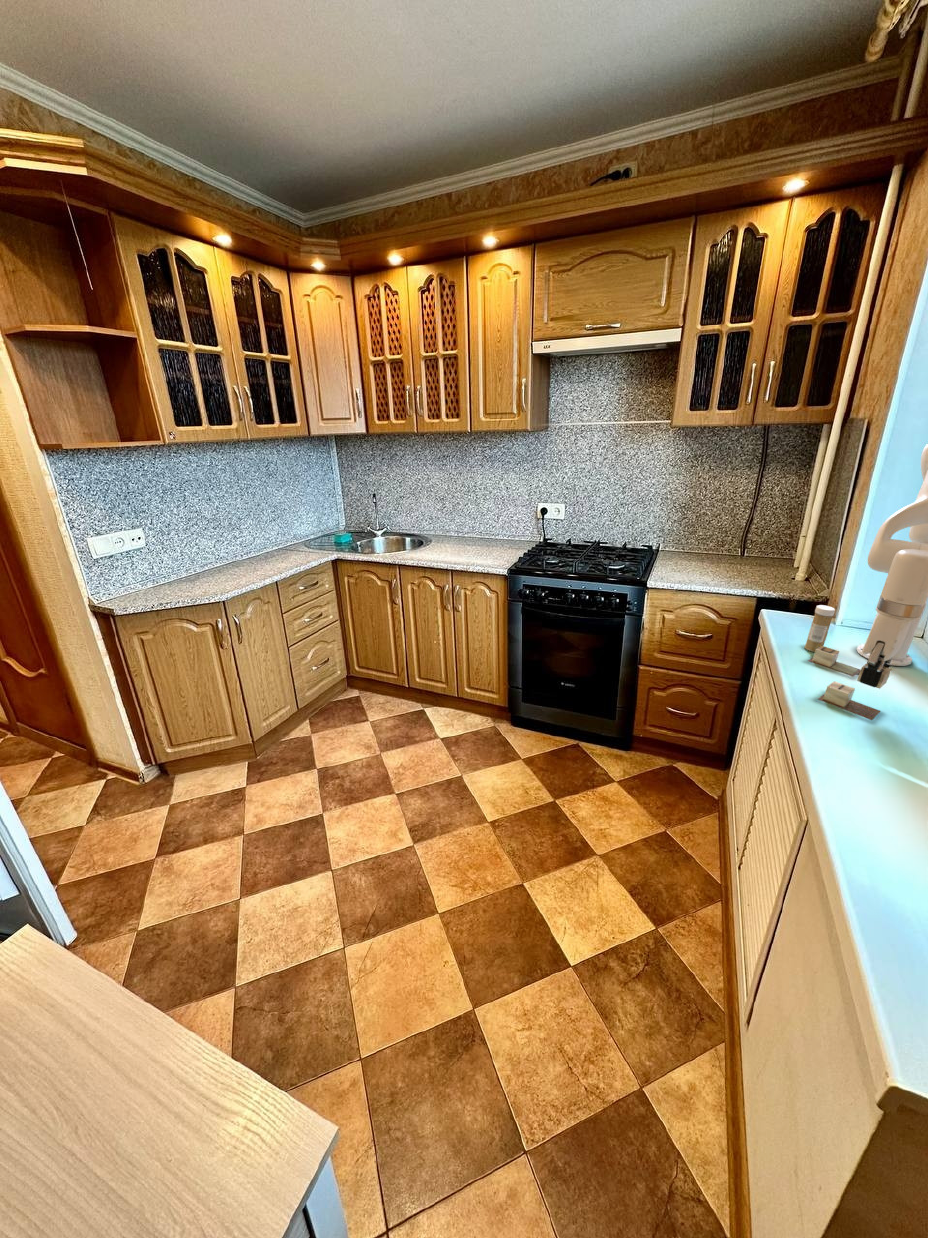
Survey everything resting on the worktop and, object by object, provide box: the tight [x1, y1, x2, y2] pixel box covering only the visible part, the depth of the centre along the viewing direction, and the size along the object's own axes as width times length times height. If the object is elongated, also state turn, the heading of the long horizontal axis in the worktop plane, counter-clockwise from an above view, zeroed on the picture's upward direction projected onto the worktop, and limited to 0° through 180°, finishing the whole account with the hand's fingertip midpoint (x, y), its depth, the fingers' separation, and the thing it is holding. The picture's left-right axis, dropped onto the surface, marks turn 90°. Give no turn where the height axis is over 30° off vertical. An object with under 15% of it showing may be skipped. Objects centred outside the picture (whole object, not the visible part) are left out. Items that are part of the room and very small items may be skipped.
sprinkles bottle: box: [804, 604, 836, 653], centre depth 148 cm, size 5×5×14 cm
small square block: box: [856, 663, 892, 690], centre depth 116 cm, size 4×4×4 cm
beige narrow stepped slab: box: [807, 645, 861, 677], centre depth 139 cm, size 6×11×4 cm, turn 38°
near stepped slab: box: [817, 681, 881, 721], centre depth 120 cm, size 6×11×4 cm, turn 38°
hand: (872, 680), depth 116 cm, fingers closed on small square block, 4 cm apart
